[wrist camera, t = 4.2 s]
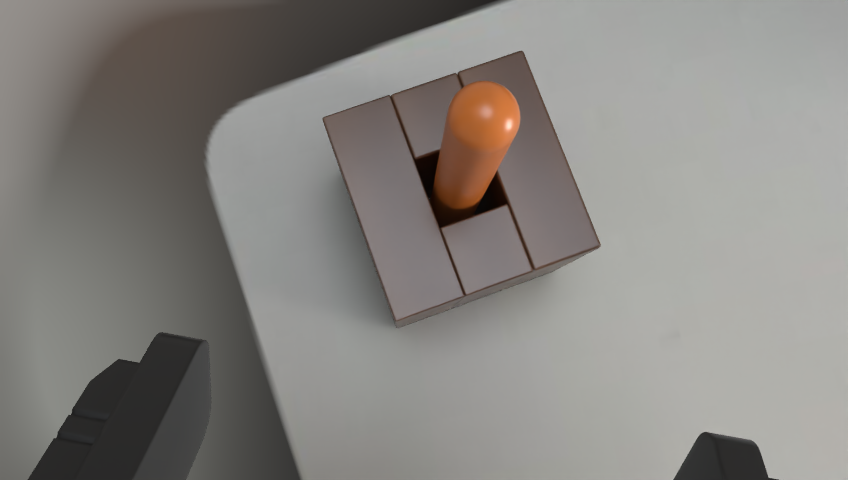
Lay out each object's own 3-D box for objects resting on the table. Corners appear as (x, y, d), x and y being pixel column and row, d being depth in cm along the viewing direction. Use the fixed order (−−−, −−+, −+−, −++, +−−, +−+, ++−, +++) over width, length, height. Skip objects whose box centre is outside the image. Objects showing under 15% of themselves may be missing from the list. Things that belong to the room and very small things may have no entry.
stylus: (434, 246, 29) (465, 153, 15) (421, 208, 29) (438, 83, 15) (473, 232, 29) (537, 128, 15) (458, 195, 29) (509, 59, 16)
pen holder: (396, 328, 29) (394, 322, 22) (340, 171, 29) (321, 117, 22) (554, 270, 29) (602, 246, 22) (494, 118, 30) (523, 48, 23)
